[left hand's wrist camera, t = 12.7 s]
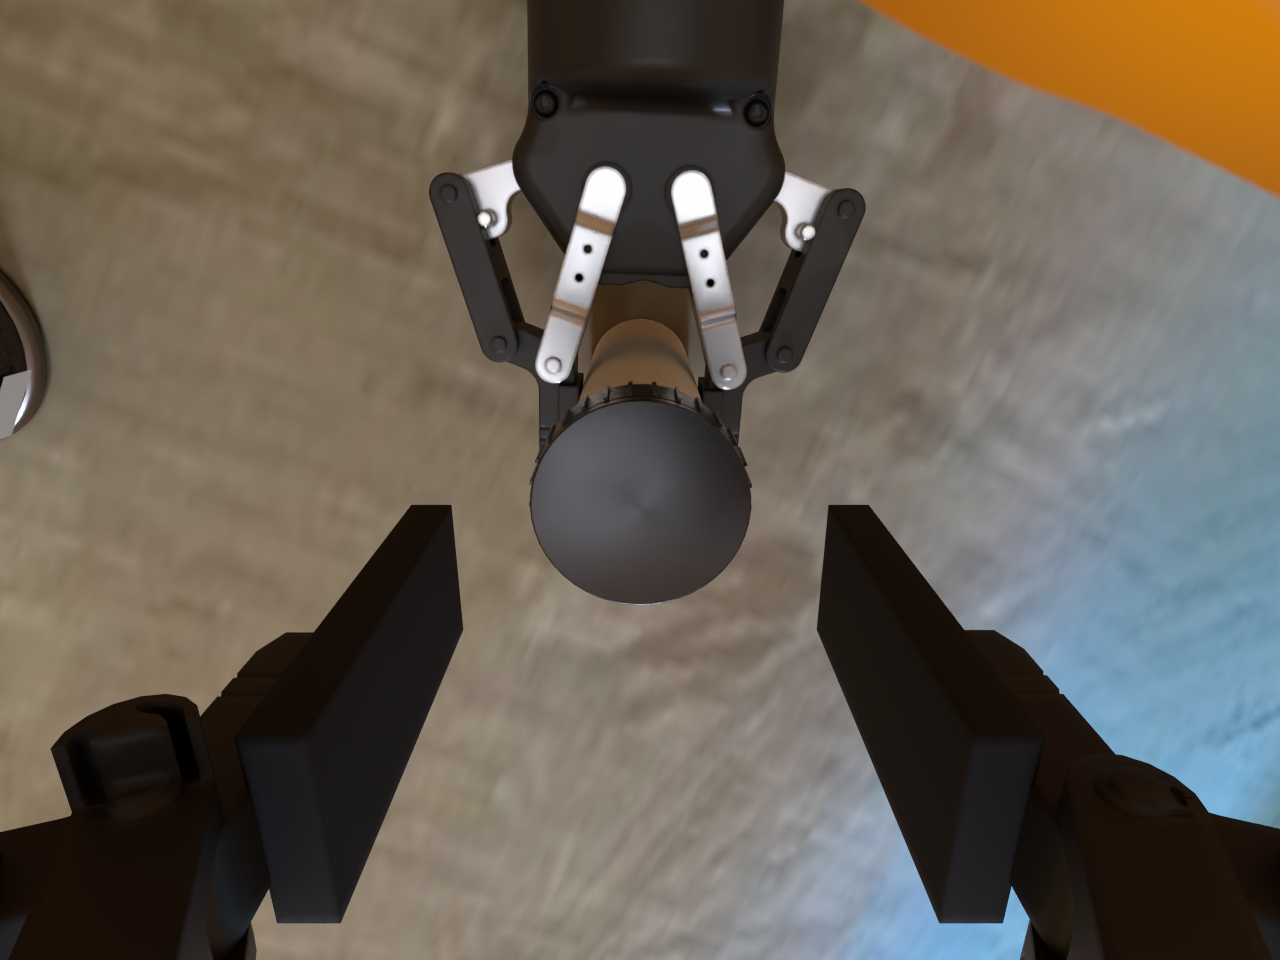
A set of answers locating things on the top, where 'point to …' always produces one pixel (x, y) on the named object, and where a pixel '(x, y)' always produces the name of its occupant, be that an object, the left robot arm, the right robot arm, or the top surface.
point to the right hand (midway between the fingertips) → (636, 478)
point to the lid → (640, 494)
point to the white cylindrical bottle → (639, 359)
